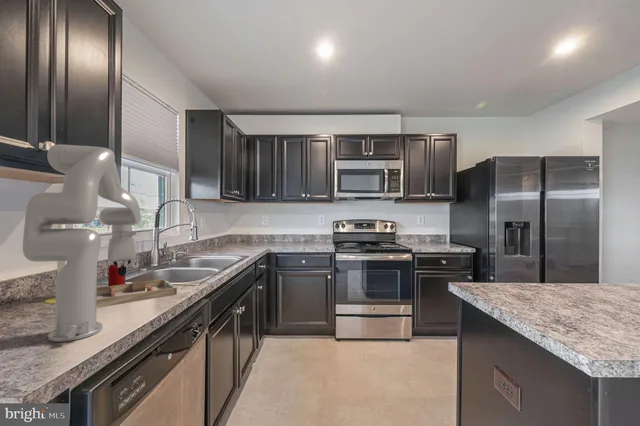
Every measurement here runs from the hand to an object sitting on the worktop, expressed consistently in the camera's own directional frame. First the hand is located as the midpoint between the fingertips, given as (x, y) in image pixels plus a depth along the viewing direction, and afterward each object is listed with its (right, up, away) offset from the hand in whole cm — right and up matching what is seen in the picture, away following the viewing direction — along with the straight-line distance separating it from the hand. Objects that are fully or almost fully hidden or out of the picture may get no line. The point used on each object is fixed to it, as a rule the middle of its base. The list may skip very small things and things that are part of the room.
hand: (122, 275), depth 132 cm
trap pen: (+7, -8, -3) cm, 11 cm away
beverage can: (-8, -8, +8) cm, 14 cm away
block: (+5, -8, +4) cm, 10 cm away
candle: (-18, -8, -11) cm, 23 cm away
